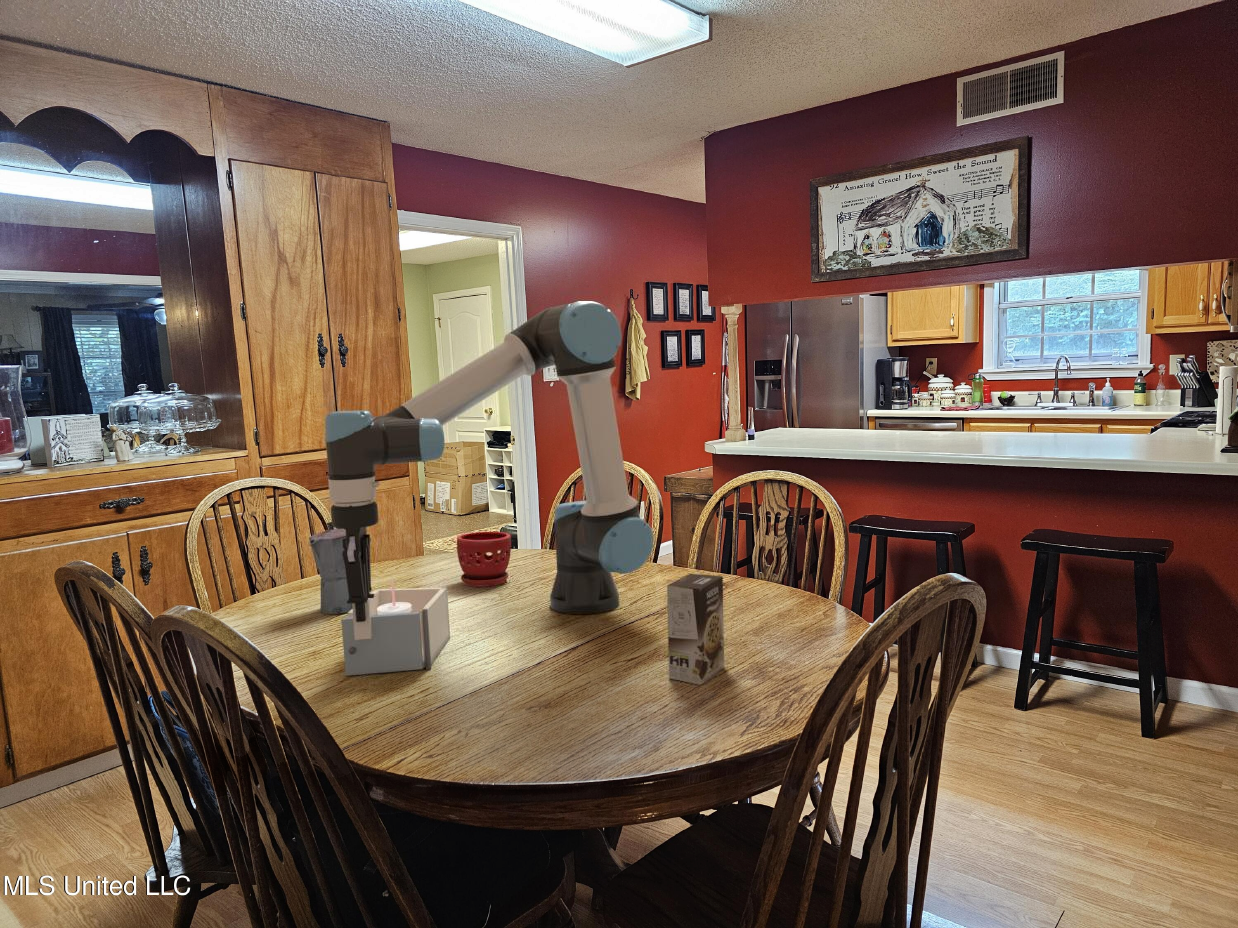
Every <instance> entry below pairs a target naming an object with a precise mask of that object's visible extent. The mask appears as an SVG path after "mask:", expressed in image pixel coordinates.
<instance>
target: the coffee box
mask: <svg viewBox="0 0 1238 928" xmlns="http://www.w3.org/2000/svg"><path fill="white" fill-rule="evenodd" d="M723 585H724V576H721V575H714V574H713V575H712V574H711V575H710V574H704V573H703V574H700V573H699V574H697V573H689V574H687V575H685V576H683V577H681V578H679V579H676V580H675V581H672V582H670V583H669V584H667V585H666V586H667V591H666V593H667V600H666V602H667V644H668V646H667V649H668V650H667V651H668V679H671V680H674V681H676V680H677V681H681V682H685V683H689V684H694V685H698V686H701V685H703V684H704V683H707V681H708V680H710V679H711V678H712V677H713V676H715V675H716V674H718V673H719V672H720V671H721V670H723V669H724V668H725V638H724V637H725V634H724V633H725V631H724V586H723Z"/></svg>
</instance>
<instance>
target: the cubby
mask: <svg viewBox="0 0 1238 928" xmlns="http://www.w3.org/2000/svg"><path fill="white" fill-rule="evenodd" d="M394 591H395V602H406V603H410V604H411V605H412V607H411V608H412V610H411V611H410V612H420V627H421V642H422V657H423V668H425V669H426V670H427V671H431V670H432V665H433V664H434V662H435V661H436V659H437V658H438V656H439V655H440V654H441V652H443V650H444V648H445V647H446V646H447V644H448V642H449V641H450V640H451V631H450V627H451V626H450V614H449V597H448V587H418V588H417V587H412V588H410V587H409V588H408V587H407V588H394ZM370 594H374V598H368V600H369V599H370V609H371V615H378V614H377V607H379V606H381V605H384V604H388V603H393V601H392V588H376V589H374V590H373V591H371V592H370ZM347 617H353V609H352V610H350V611H349V612H347Z"/></svg>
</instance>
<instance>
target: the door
mask: <svg viewBox="0 0 1238 928" xmlns="http://www.w3.org/2000/svg"><path fill="white" fill-rule="evenodd" d="M340 620H341V621H340V622H341V633H342V635H341V636H342V647H343V657H344V659H343V660H344V672H345V676H357V675H369V674H379V673H392V672H402V671H403V672H404V671H413V670H414V671H415V670H416V671H417V670H423V669H424V667H423V657H422V642H421V627H420V612H409V613H396V614H383V615H371V624H372V638H371V639H360V640H355V636H354V622H353V617H348V616H347V617H342V618H341V619H340Z"/></svg>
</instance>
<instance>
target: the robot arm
mask: <svg viewBox="0 0 1238 928" xmlns="http://www.w3.org/2000/svg"><path fill="white" fill-rule="evenodd" d="M503 339H504V340H503V342H501V343H500V344H499V345H497V346H495V347H494V348H492V349H490V350H489V351H487V352H485V353H484V354H483V355H480V356H479V357H477V358H475V359H474V360H473V361H471V362H469V363H467V364H466V365H464V366H463V367H460V368H459V369H457V370H456V371H455V372H454V371H453V373H451V374H450V375H448V376H446V377H445V378H442V379H441V380H440V381H438V382H436V383H435V384H433V385H432V386H430V387H428V388H427V389H425V390H424V391H422V392H419V394H417V395H416V396H414V397H412V398H411V399H408V400H407V401H405V402H404V403H402V404H401V405H399V406H397V407H396V408H394V409H392V410H391V411H389V412H387V413H386V414H384V415H381V414H380V415H377V416H375V417H372V414H371V412H370V411H368V410H339V411H332V412H329V413H327V414H326V416H325V419H324V421H325V422H324V424H325V425H324V431H325V433H324V435H325V437H324V442H325V448H326V449H325V450H326V460H327V461H326V462H327V470H328V471H327V472H328V479H327V480H328V496H329V501H330V502H331V503H332V505H331V507H330V515H331V516H330V517H331V519H330V520H331V522H332V526H333V527H334V529H345V530H346V537H345V539H343V549H344V550H343V553H342V556H343V559H344V563H345V570H346V578H347V586H348V594H349V599H348V600H347V604H351V603H352V608H353V622H354V636H355V640H360V639H371V638H372V624H371V609H370V599H369V600H368V598H374V594H371V593H372V577H371V575H372V574H371V571H372V570H371V568H372V567H371V541H372V537H371V534H370V533H369V534H368V533H367V528H368V527H372V526H375V525H377V524H378V523H379V508H378V507H379V506H378V503H377V502H376V501H375V499H376V498H377V488H379V487H380V482H379V481H375V480H376V466H384V465H391V464H392V465H394V464H407V463H418V462H419V463H420V462H422V463H426V462H428V461H435V460H436V461H437V460H439V459H441V458H442V455H443V454H444V451H445V442H446V441H445V434H444V429H443V426H445V425H446V424H447V423H449V422H451V421H453V420H455V418H457V417H459V416H460V415H462V414H464V413H465V412H466V411H469V410H470V409H471V408H473V407H474V406H476V405H478V404H480V403H481V402H483V401H484V400H486V399H487V398H489V397H490V396H493V394H495V393H497V392H498V391H500V390H501V389H503V388H505V387H506V386H508V385H510V384H511V383H513V382H514V381H516V380H517V379H519V378H520V377H522V376H524V375H526V376H528V377H529V376H530V377H531V376H533V375H535V374H536V373H538V372H539V371H541V370H544V369H546V368H549V367H552V366H555V372H556V376H557V378H558V379H559V380H560V381H561V382H563V383H564V384H565V385H566V390H567V394H568V401H569V406H570V413H571V418H572V423H573V424H572V425H573V431H574V437H575V442H576V447H577V453H578V458H579V465H580V468H581V469H580V470H581V476H582V477H581V478H582V482H583V483H582V484H583V486H584V487H583V488H584V493H585V499H586V500H578V501H571V502H565V503H560V504H557V506H555V508H554V518H553V523H554V535H555V536H554V537H555V538H554V540H555V541H554V542H555V560H556V573H555V577H554V578H555V579H554V581H553V585H552V587H551V592H550V596H549V599H550V608H551V609H552V610H553V611H555V612H559V613H563V614H568V615H588V614H589V615H592V614H598V613H604V612H608V611H611V610H613V609H615V608H616V607H618V606H619V604H620V597H619V595H620V594H619V589H618V588H617V585H616V583H615V582H616V581H615V580H614V576H613V574H612V573H615V574H620V575H621V574H623V575H625V574H626V575H627V574H630V573H634V572H636V571H637V570H639V569H640V568H642V567H643V565H645V563H647V560H648V558H650V556H651V554H652V551H653V548H654V542H655V541H654V540H655V539H654V533H653V530H652V527H651V526H650V525H649V523H647V521H646V520H644V519H643V518H641V515H640V509H639V503H638V500H637V499H636V498H634V497H633V496H631V495H630V494H629V489H628V482H627V477H626V471H625V470H626V469H625V464H624V463H625V462H624V458H623V451H622V446H621V440H620V433H619V428H618V421H617V420H618V419H617V414H616V408H615V402H614V397H613V390H612V384H611V377H612V374H613V373H614V371H615V370H616V368H617V367H616V360H615V355H617V353H618V349H619V348H620V347H621V345H622V344H621V343H622V329H621V326H620V323H619V320H618V319H617V317H616V315H615V314H614V313H613V312H612V310H610V309H609V308H608V307H606V306H605V305H604V304H601V303H599V302H596V301H586V300H583V301H579V300H578V301H576V302H573V303H567V304H562V305H555V306H550V307H548V308H546V309H544V310H542V311H540V312H539V313H537V314H535V315H534V316H533V317H531V318H529V319H528V320H526V321H525V322H524V323H522V324H521V325H519V326H517V327H516V328H515V329H513V330H512V331H510V332H508V333H507V334H505V336H504V338H503Z"/></svg>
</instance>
